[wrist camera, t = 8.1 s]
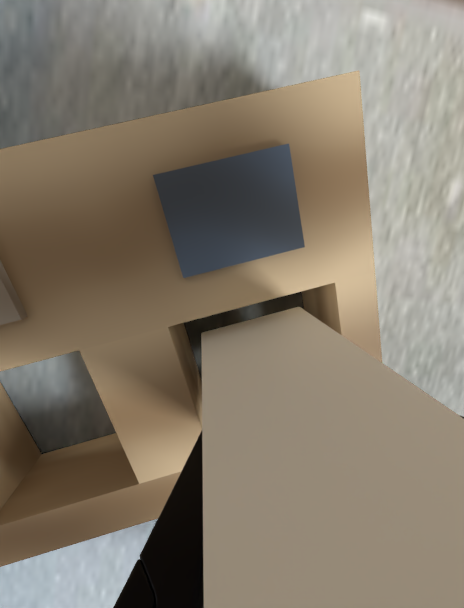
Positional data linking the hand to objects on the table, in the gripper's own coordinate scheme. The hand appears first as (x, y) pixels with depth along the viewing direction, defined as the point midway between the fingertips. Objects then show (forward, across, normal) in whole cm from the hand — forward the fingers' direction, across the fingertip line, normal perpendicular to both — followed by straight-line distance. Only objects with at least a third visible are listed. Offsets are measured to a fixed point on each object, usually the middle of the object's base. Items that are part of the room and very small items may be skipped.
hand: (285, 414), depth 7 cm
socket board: (+6, +4, -2) cm, 7 cm away
